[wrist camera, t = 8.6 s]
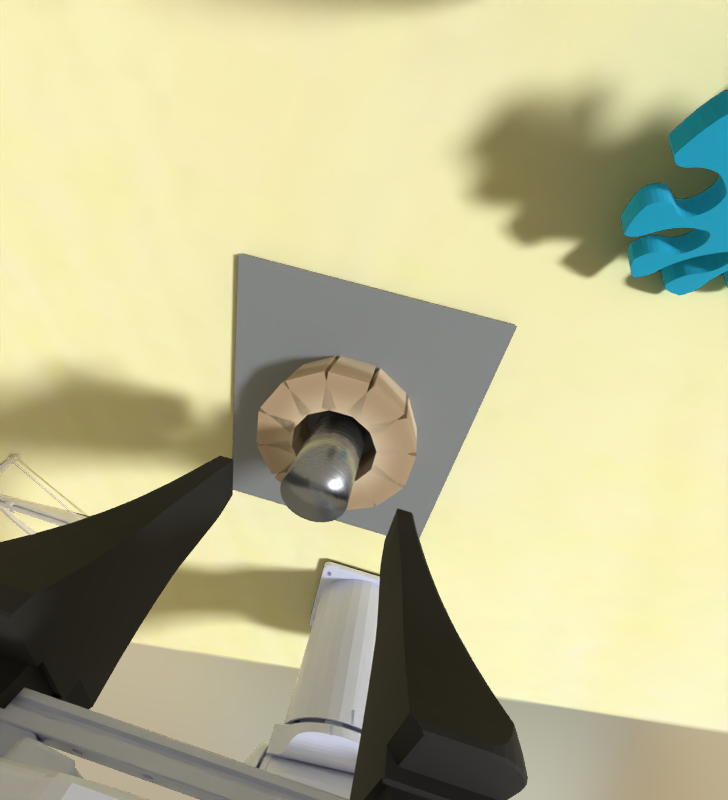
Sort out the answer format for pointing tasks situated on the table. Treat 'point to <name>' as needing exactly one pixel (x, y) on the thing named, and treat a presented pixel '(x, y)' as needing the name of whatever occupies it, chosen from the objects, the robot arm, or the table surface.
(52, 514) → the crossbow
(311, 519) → the peg
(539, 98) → the table surface
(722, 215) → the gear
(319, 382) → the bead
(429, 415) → the mat
